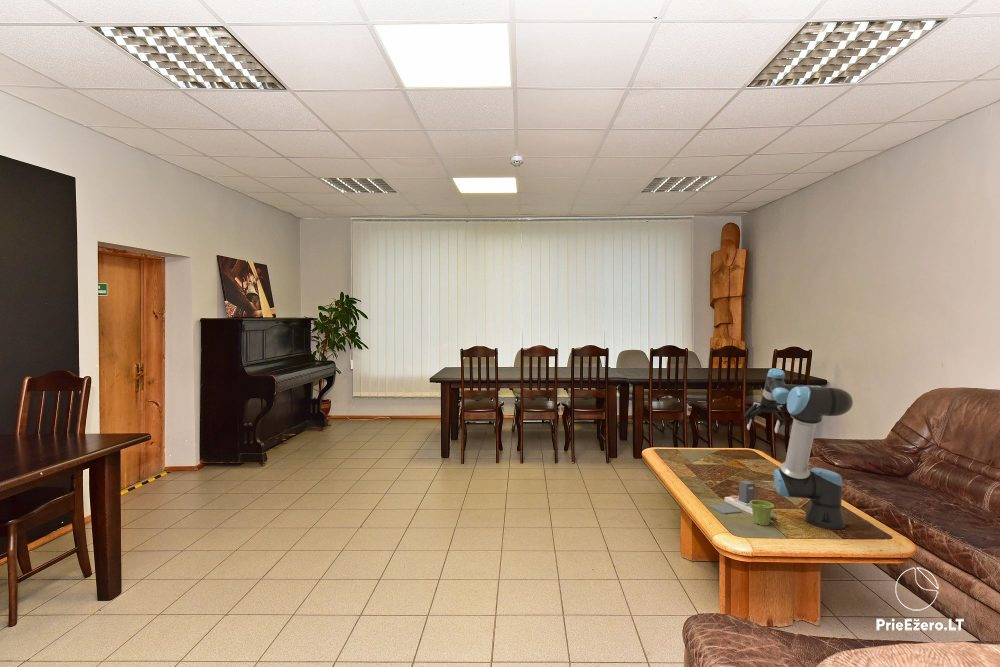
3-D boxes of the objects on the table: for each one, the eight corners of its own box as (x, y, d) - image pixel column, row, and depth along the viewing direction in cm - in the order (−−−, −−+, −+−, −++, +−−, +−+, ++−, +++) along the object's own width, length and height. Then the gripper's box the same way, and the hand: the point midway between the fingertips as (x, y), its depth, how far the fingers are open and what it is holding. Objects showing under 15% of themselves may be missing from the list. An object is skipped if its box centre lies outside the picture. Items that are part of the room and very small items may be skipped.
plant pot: (745, 518, 242) (746, 499, 242) (767, 519, 241) (767, 500, 241) (754, 526, 232) (755, 506, 232) (777, 527, 232) (777, 507, 232)
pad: (741, 512, 250) (741, 511, 250) (723, 514, 247) (723, 513, 247) (726, 505, 259) (726, 503, 259) (709, 506, 256) (709, 505, 256)
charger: (754, 504, 255) (755, 483, 254) (746, 505, 253) (746, 484, 253) (746, 501, 259) (747, 480, 259) (738, 502, 258) (739, 481, 258)
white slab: (783, 520, 240) (783, 513, 240) (768, 522, 238) (768, 515, 238) (738, 499, 267) (738, 493, 267) (724, 501, 265) (724, 494, 265)
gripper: (795, 395, 276) (785, 428, 286) (743, 389, 281) (735, 422, 291) (799, 403, 270) (789, 437, 280) (745, 398, 275) (737, 431, 285)
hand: (761, 429), depth 285 cm, fingers open, 13 cm apart
